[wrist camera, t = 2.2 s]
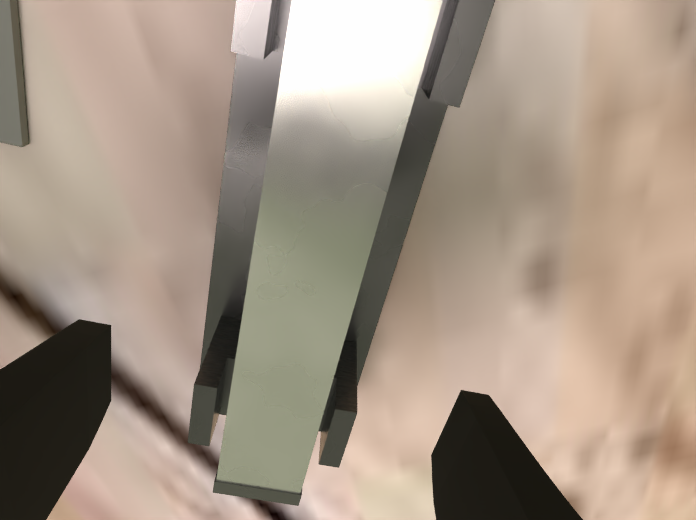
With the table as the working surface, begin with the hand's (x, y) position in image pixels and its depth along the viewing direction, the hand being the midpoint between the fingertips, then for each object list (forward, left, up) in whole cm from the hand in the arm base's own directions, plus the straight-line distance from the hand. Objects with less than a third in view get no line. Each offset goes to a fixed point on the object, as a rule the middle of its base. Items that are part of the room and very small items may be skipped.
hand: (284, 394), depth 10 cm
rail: (0, 0, -7) cm, 7 cm away
